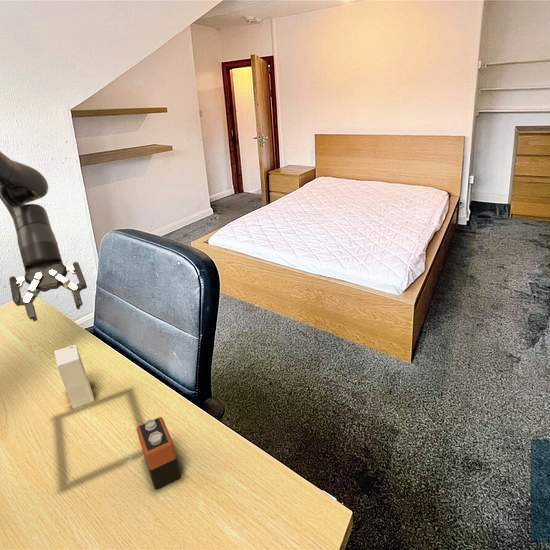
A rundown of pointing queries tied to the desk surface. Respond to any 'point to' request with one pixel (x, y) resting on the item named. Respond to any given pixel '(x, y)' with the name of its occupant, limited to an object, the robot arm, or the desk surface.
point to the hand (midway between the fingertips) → (57, 313)
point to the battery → (159, 452)
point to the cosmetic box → (74, 376)
